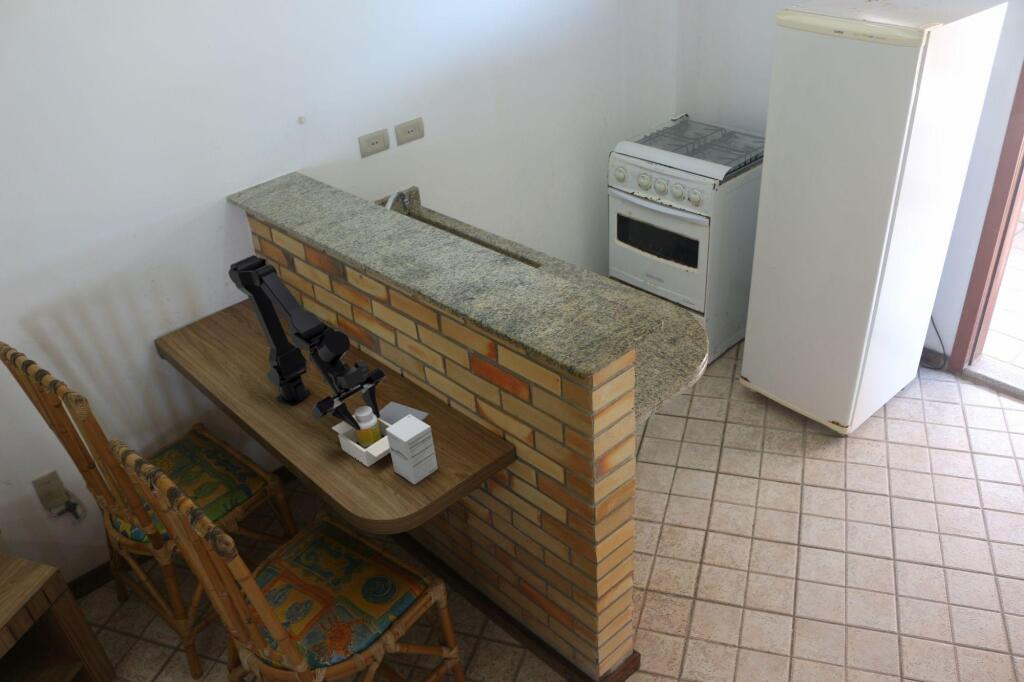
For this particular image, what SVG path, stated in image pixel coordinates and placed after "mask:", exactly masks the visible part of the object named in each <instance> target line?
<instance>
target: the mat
mask: <svg viewBox="0 0 1024 682" xmlns="http://www.w3.org/2000/svg"><path fill="white" fill-rule="evenodd" d="M379 413H380V419H382V420H384V421H385V422H387V423H389V424H390V425H393V424H395V423H396V422H398V421H399V420H401V419H402V418H404V417H406V416H407V415H409V414H411V415H412V416H414V417H416V418H417V419H419V420H421V421H423V422H425V420H426V419H427V418H428V417H429V415H430V413H428V412H424V411H422V410H419V409H416V408H413V407H409V406H407V405H403V404H402V403H398V402H395V401H390V402H389V403H388V404H386V405H385V406H384V407H383V408H382V409H380V410H379Z"/></svg>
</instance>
